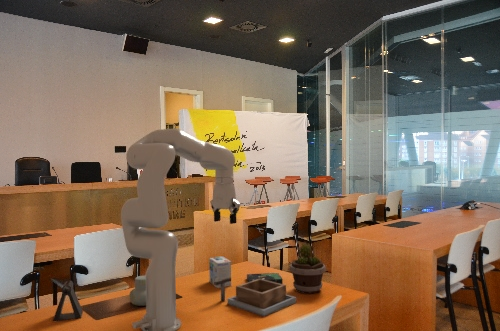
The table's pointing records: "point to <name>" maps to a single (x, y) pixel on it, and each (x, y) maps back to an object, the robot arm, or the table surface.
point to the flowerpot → (307, 271)
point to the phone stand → (74, 302)
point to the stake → (222, 286)
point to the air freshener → (139, 291)
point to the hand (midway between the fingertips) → (225, 222)
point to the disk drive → (266, 277)
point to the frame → (261, 293)
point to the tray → (259, 311)
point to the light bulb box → (219, 270)
